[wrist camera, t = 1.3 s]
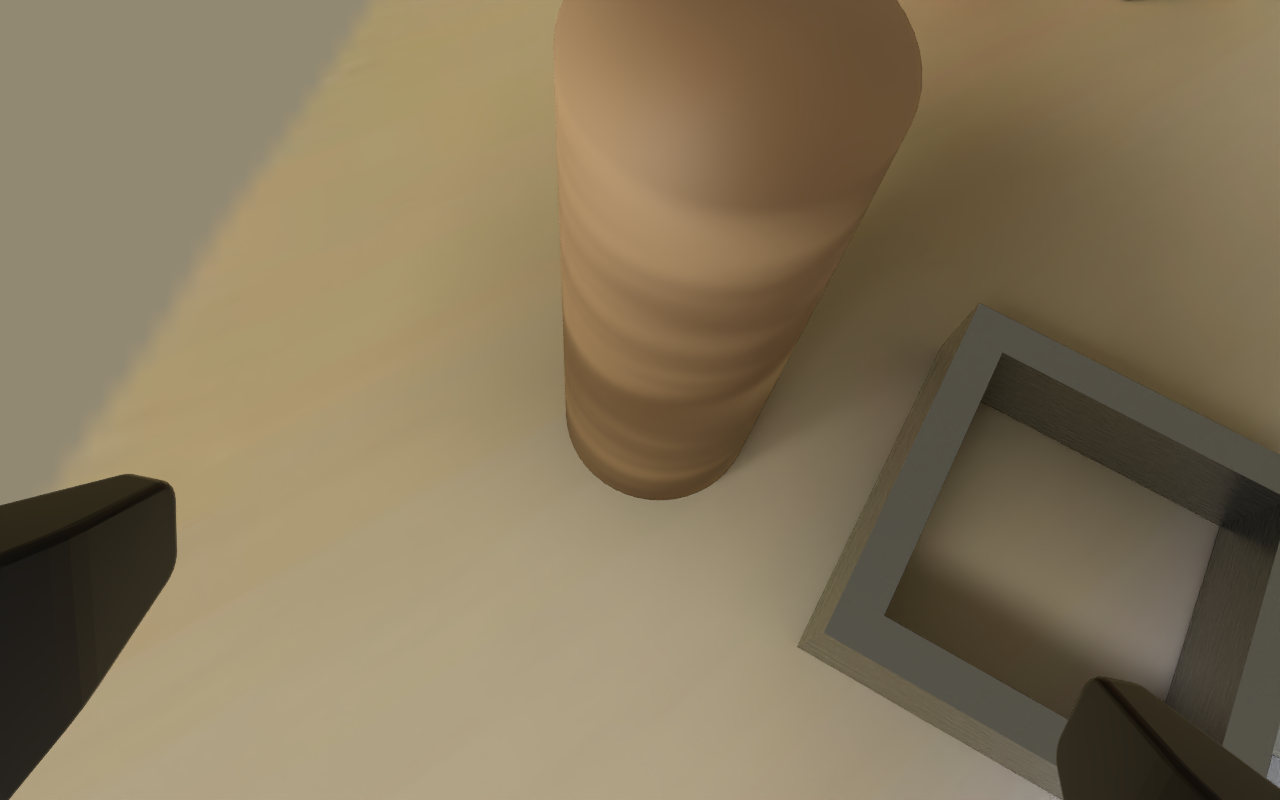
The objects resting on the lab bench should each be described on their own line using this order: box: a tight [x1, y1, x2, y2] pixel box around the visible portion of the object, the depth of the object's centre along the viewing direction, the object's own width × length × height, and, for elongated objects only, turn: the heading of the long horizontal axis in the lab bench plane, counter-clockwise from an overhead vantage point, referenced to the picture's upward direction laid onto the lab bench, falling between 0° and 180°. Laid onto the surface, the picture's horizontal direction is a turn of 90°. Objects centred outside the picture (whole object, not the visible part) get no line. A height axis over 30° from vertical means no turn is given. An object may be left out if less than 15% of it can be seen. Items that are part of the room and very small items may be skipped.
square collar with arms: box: [797, 303, 1280, 800], centre depth 20 cm, size 14×17×2 cm
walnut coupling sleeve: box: [554, 0, 922, 500], centre depth 18 cm, size 5×5×13 cm
